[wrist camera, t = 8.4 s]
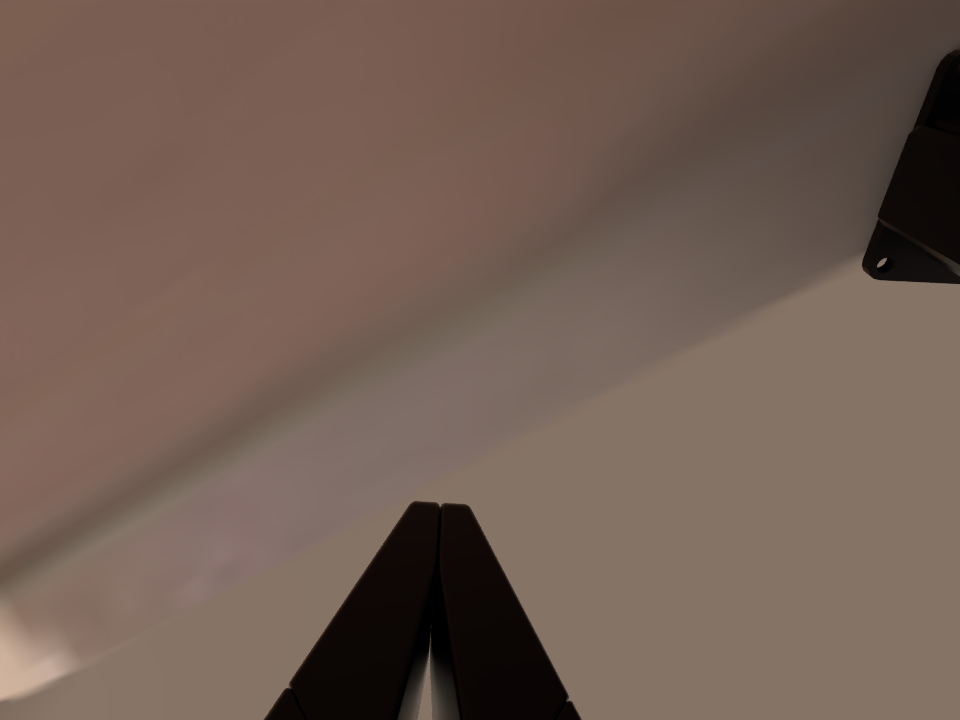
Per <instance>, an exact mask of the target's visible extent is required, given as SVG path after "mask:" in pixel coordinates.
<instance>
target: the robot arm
mask: <svg viewBox="0 0 960 720" xmlns="http://www.w3.org/2000/svg"><path fill="white" fill-rule="evenodd" d="M958 65H960V50H955V51H953V52H951V53H949V54H947V55H946V56H945V57H944V58H943V59H942V60H941V62H940V64H939V65H938V67H937V69H936V72H935V74H934V77H933V79H932V82H931V84H930V87H929V90H928V92H927V95H926V97H925V100H924V103H923V105H922V108H921V110H920V113H919V116H918V118H917V121H916V123H915V126H914V128H913V131H912V132H911V133H910V134H909V135H908V138H907V140H906V143H905V146H904V148H903V151H902V153H901V156H900V159H899V161H898V164H897V166H896V169H895V172H894V174H893V177H892V179H891V182H890V185H889V187H888V190H887V192H886V195H885V198H884V200H883V203H882V205H881V208H880V211H879V213H878V218H879V219H878V222H877V224H876V227H875V229H874V232H873V235H872V237H871V240H870V242H869V245H868V248H867V250H866V253H865V255H864V258H863V262H862V267H863V270H864V271H865V272H866V273H867V274H868V275H870V276H871V277H872V278H874V279H877V280H888V281H908V282H909V281H910V282H929V283H950V284H960V76H959V77H958V78H956V79H955V77H954V73H955V70H956V68H957V67H958ZM884 258H887V260H886V262H885V264H884V265H883V266H881V267H878V268H877V264H878V263H879V262H880V261H881V260H882V259H884ZM431 625H432V626H431ZM430 636H431V641H430ZM429 647H430V679H431V698H432V717H433V720H581V717H580V716H579V713H578V712H577V710H576V708H575V706H574V704H573V702H572V701H568V700H569V695H568V693H567V691H566V689H565V687H564V685H563V684H562V682H561V680H560V678H559V676H558V674H557V672H556V670H555V668H554V666H553V664H552V663H551V661H550V659H549V657H548V655H547V653H546V651H545V649H544V647H543V645H542V643H541V641H540V640H539V638H538V636H537V634H536V632H535V630H534V628H533V626H532V624H531V622H530V621H529V619H528V617H527V615H526V613H525V611H524V609H523V607H522V605H521V604H520V601H519V600H518V598H517V596H516V594H515V592H514V590H513V588H512V586H511V584H510V582H509V580H508V578H507V577H506V575H505V573H504V571H503V569H502V567H501V566H500V563H499V561H498V560H497V557H496V556H495V554H494V552H493V550H492V548H491V546H490V544H489V542H488V540H487V539H486V536H485V535H484V533H483V531H482V529H481V527H480V525H479V523H478V521H477V519H476V517H475V515H474V514H473V512H472V510H471V508H470V507H469V506H468V505H466V504H452V503H444V504H442V505H441V508H440V506H439V504H438V503H435V502H420V501H414V502H413V503H411V504H410V505H409V507H408V508H407V509H406V511H405V512H404V514H403V515H402V517H401V518H400V520H399V522H398V523H397V524H396V526H395V527H394V529H393V530H392V532H391V533H390V534H389V536H388V537H387V539H386V540H385V542H384V543H383V545H382V546H381V548H380V549H379V551H378V552H377V554H376V555H375V557H374V558H373V560H372V561H371V563H370V564H369V566H368V567H367V569H366V570H365V571H364V573H363V574H362V576H361V578H360V579H359V580H358V582H357V583H356V585H355V586H354V588H353V589H352V591H351V592H350V594H349V595H348V597H347V598H346V600H345V601H344V603H343V604H342V606H341V607H340V608H339V610H338V611H337V613H336V614H335V616H334V617H333V619H332V620H331V622H330V623H329V625H328V626H327V628H326V629H325V631H324V632H323V634H322V635H321V637H320V638H319V640H318V641H317V642H316V644H315V645H314V647H313V648H312V650H311V651H310V653H309V654H308V656H307V657H306V659H305V660H304V662H303V663H302V665H301V666H300V668H299V669H298V671H297V672H296V674H295V675H294V676H293V678H292V679H291V681H290V682H289V688H286V689H285V690H284V691H283V692H282V694H281V695H280V697H279V698H278V700H277V701H276V703H275V704H274V706H273V707H272V709H271V710H270V711H269V713H268V715H267V716H266V717H265V719H264V720H417V718H418V713H419V708H420V703H421V697H422V692H423V687H424V681H425V676H426V670H427V663H428V657H429Z"/></svg>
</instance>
